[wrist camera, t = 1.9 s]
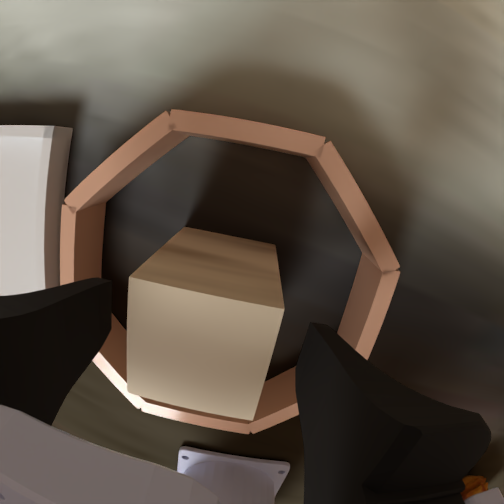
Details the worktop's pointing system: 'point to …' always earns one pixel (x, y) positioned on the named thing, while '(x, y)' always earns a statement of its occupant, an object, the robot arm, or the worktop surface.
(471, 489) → the croissant
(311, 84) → the worktop surface
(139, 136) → the pinkish-brown octagonal ring
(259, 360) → the beech peg
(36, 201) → the tray
